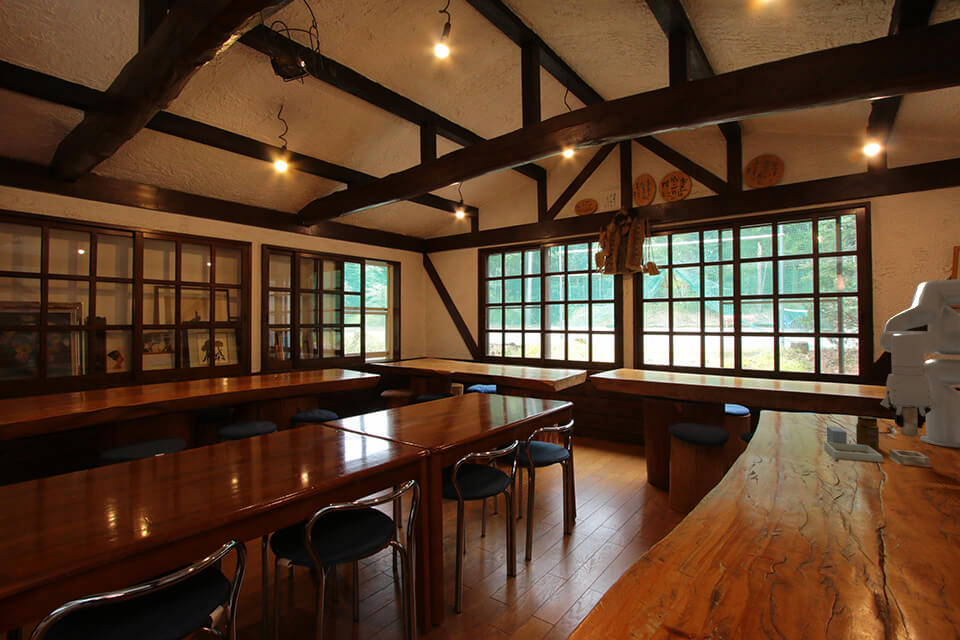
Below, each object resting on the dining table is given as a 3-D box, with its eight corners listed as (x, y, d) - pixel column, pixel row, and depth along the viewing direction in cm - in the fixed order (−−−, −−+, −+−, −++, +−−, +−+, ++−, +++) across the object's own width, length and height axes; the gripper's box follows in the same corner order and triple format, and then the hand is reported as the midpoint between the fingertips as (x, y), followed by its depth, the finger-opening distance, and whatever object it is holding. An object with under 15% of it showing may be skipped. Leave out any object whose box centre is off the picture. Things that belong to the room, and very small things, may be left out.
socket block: (919, 462, 143) (919, 451, 143) (931, 470, 136) (931, 458, 136) (887, 459, 147) (887, 448, 147) (898, 466, 139) (898, 455, 139)
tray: (868, 453, 153) (867, 445, 153) (882, 465, 141) (882, 455, 141) (824, 449, 158) (824, 441, 158) (835, 460, 147) (834, 451, 147)
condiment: (878, 449, 157) (878, 416, 157) (883, 455, 150) (882, 421, 150) (852, 446, 162) (851, 414, 162) (855, 452, 155) (855, 418, 154)
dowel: (914, 433, 143) (913, 406, 142) (920, 437, 139) (919, 409, 139) (898, 432, 144) (897, 405, 144) (904, 436, 141) (903, 408, 141)
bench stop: (840, 445, 162) (840, 427, 162) (846, 451, 156) (846, 431, 156) (827, 444, 164) (826, 426, 164) (832, 450, 157) (832, 430, 157)
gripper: (936, 369, 141) (937, 425, 141) (870, 369, 148) (871, 422, 149) (949, 373, 134) (950, 431, 135) (879, 372, 141) (880, 428, 142)
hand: (909, 426), depth 142 cm, fingers closed on dowel, 4 cm apart
